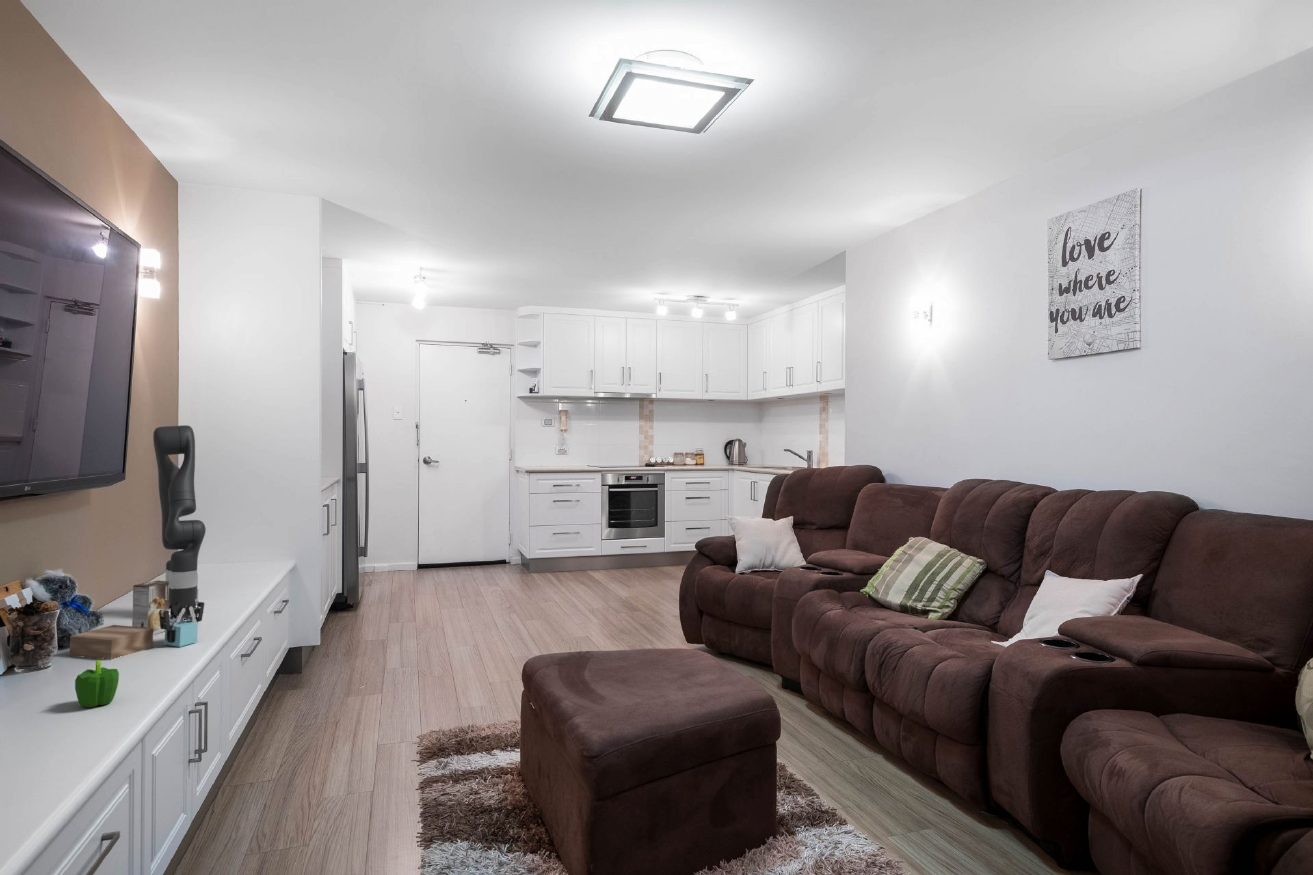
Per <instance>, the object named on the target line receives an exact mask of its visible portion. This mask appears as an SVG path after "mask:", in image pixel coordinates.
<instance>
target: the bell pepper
mask: <svg viewBox="0 0 1313 875" xmlns="http://www.w3.org/2000/svg"><path fill="white" fill-rule="evenodd" d="M119 677H120V673H119V670H118V669H117V668H107V667H104V666H102V661H101V659H98V660H97V659H96V661H95V669H91V668H89V669H86V670H84V671H83V672H82V673H79V674H78V675H77V676H76V678H75V680H74V689H75V690H74V691H75V694H76V698H77V701H78V703H79V704H80V706H81V707H83V708H93V707H98V706H104V705H105V706H106V705H110V703H112V701H114V698H115V695H116V692H117V688H118V686H119Z"/></svg>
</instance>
